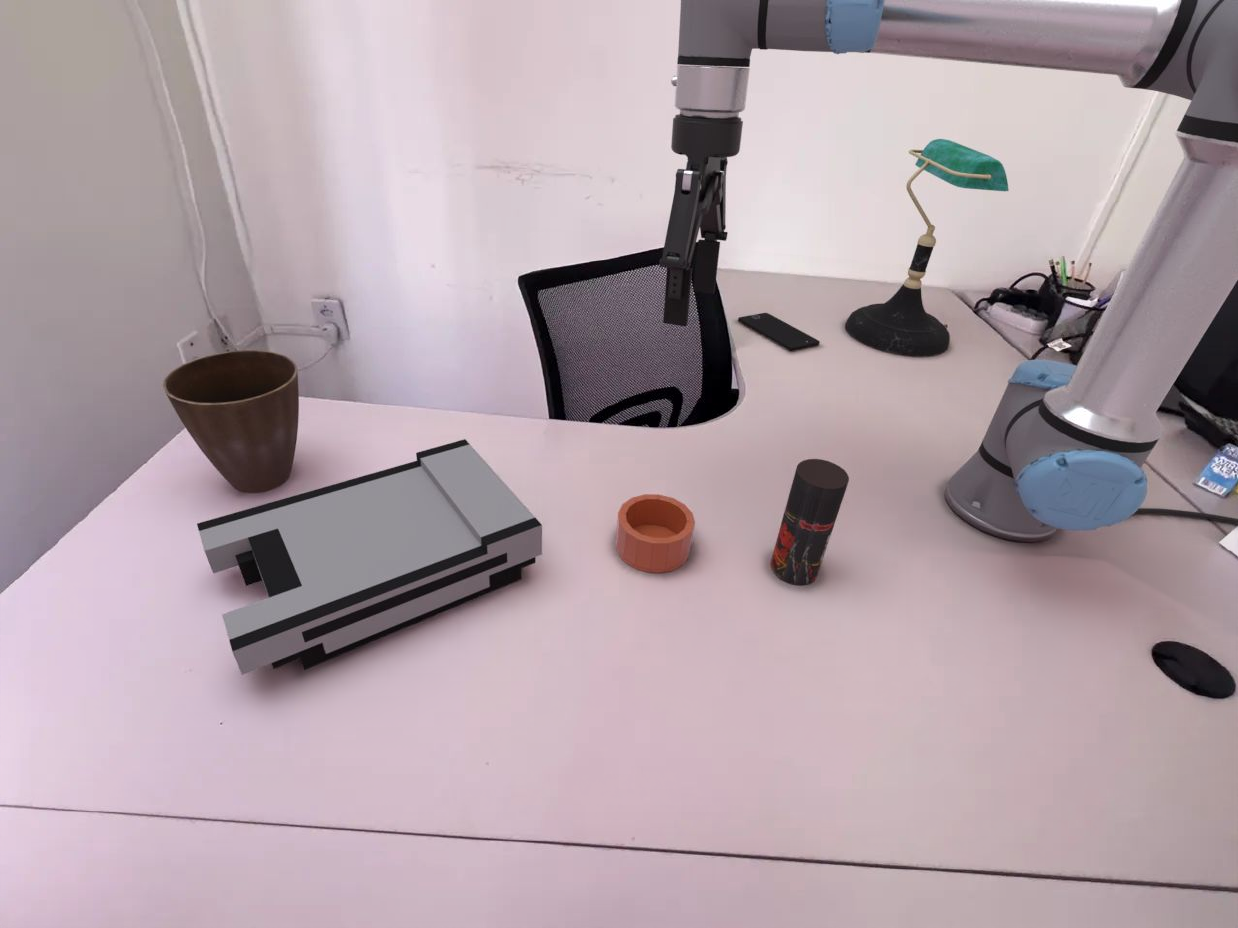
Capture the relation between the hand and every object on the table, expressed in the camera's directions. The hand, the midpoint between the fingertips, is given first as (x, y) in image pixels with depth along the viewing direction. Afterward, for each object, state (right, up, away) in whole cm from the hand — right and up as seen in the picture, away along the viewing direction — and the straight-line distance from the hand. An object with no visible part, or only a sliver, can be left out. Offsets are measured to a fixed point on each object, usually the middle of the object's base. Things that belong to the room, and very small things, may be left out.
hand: (690, 307), depth 81 cm
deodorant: (+13, -33, +2) cm, 36 cm away
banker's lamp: (+55, +10, +70) cm, 89 cm away
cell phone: (+27, +10, +66) cm, 72 cm away
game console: (-37, -33, -3) cm, 50 cm away
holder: (-5, -30, +4) cm, 31 cm away
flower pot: (-59, -22, +10) cm, 64 cm away
